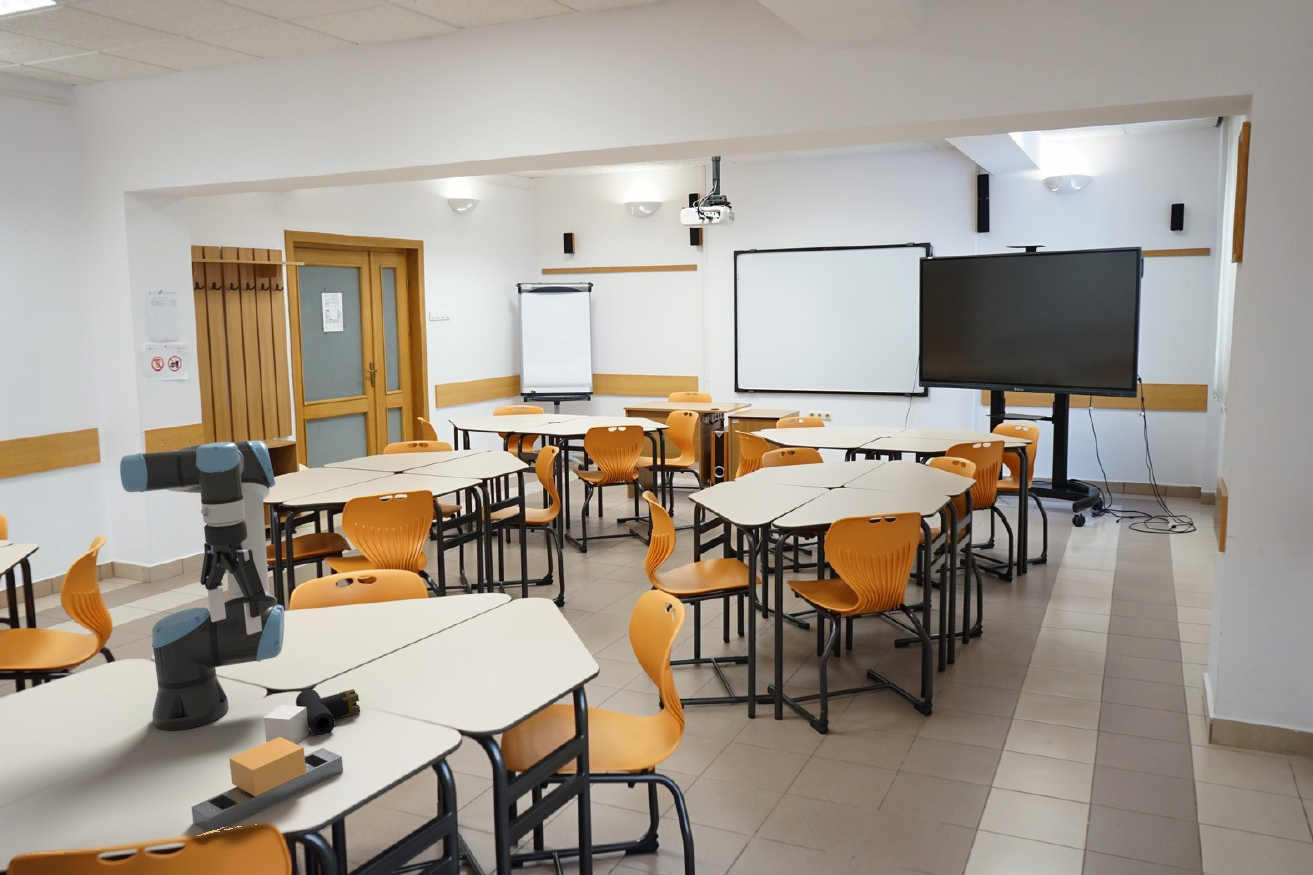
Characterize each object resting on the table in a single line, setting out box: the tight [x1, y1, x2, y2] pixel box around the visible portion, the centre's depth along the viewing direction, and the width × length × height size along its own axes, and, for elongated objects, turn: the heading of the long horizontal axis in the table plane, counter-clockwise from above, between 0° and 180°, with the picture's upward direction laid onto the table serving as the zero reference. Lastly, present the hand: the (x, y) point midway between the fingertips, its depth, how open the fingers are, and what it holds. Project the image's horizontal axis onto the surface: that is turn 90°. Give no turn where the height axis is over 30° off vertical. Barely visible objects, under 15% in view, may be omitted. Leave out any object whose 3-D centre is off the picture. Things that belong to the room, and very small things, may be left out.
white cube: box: [263, 704, 310, 744], centre depth 197 cm, size 6×6×6 cm
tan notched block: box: [228, 737, 306, 797], centre depth 174 cm, size 8×10×8 cm
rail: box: [191, 747, 344, 832], centre depth 174 cm, size 6×26×3 cm, turn 142°
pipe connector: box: [295, 688, 361, 737], centre depth 206 cm, size 12×5×15 cm
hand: (236, 626), depth 188 cm, fingers open, 13 cm apart
